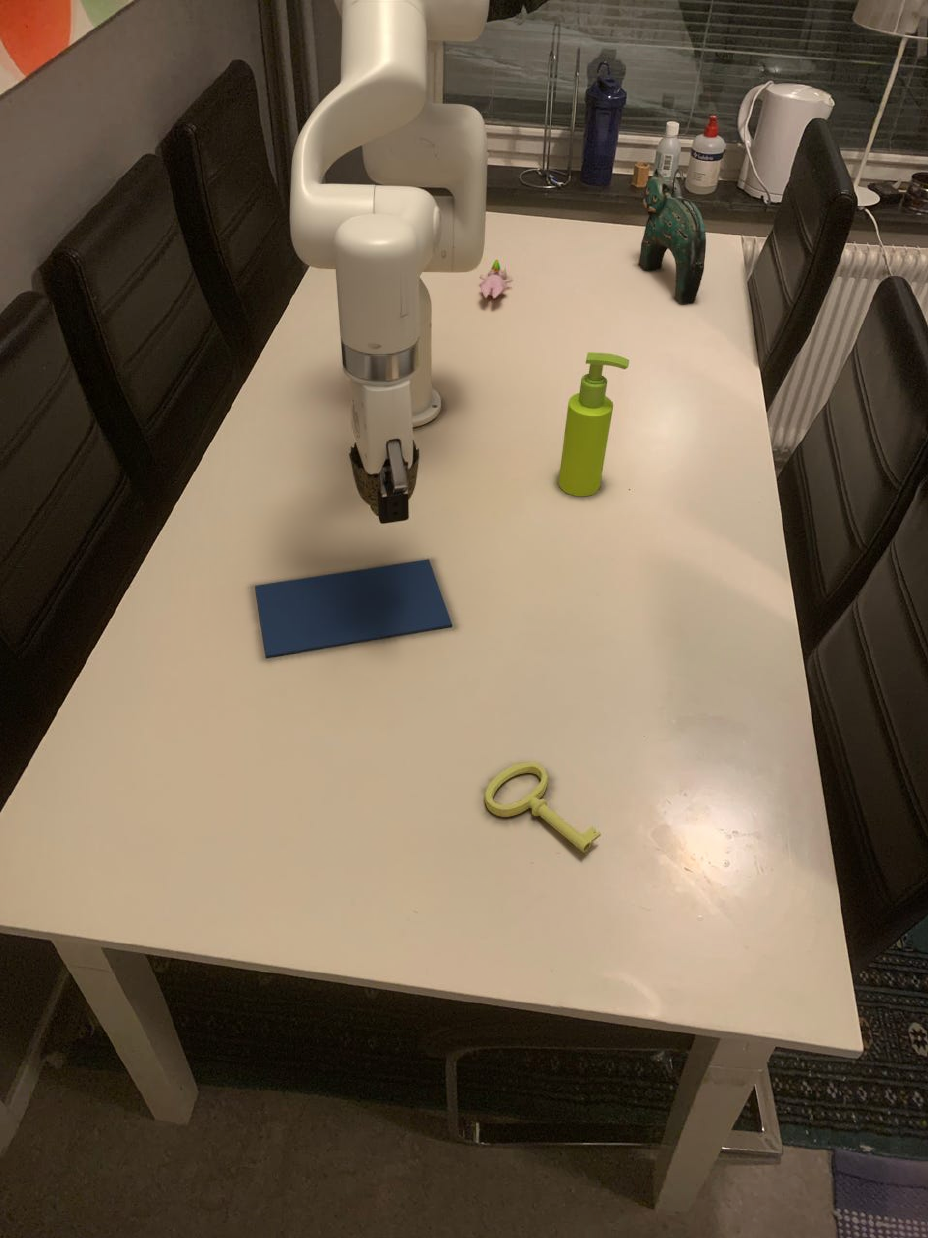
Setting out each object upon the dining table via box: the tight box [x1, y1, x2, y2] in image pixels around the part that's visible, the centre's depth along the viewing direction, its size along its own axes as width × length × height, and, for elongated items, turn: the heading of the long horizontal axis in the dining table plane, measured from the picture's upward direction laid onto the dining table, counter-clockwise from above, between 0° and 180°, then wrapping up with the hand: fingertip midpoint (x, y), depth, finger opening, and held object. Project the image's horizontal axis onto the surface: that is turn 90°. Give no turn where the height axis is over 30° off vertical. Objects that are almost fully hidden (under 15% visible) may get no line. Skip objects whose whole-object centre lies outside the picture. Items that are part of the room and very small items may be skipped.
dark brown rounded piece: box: [348, 439, 420, 518], centre depth 99 cm, size 8×7×8 cm
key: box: [484, 761, 602, 853], centre depth 91 cm, size 7×12×2 cm, turn 60°
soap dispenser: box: [558, 351, 630, 497], centre depth 122 cm, size 6×7×20 cm
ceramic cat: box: [638, 168, 707, 305], centre depth 168 cm, size 20×6×20 cm, turn 17°
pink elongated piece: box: [479, 259, 514, 299], centre depth 168 cm, size 6×6×15 cm
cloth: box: [254, 558, 453, 659], centre depth 111 cm, size 12×22×1 cm, turn 105°
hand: (386, 497), depth 101 cm, fingers closed on dark brown rounded piece, 7 cm apart
